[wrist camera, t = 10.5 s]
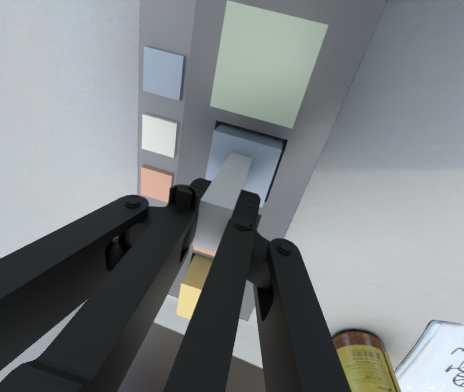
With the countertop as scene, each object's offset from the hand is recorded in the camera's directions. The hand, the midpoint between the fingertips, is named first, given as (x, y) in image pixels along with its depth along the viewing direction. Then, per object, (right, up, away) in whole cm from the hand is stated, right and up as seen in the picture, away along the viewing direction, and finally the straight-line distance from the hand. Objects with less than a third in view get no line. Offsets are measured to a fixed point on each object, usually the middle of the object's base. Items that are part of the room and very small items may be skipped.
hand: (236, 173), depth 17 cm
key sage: (+2, +6, -1) cm, 7 cm away
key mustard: (-2, -10, +9) cm, 13 cm away
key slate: (+1, +2, +4) cm, 4 cm away
